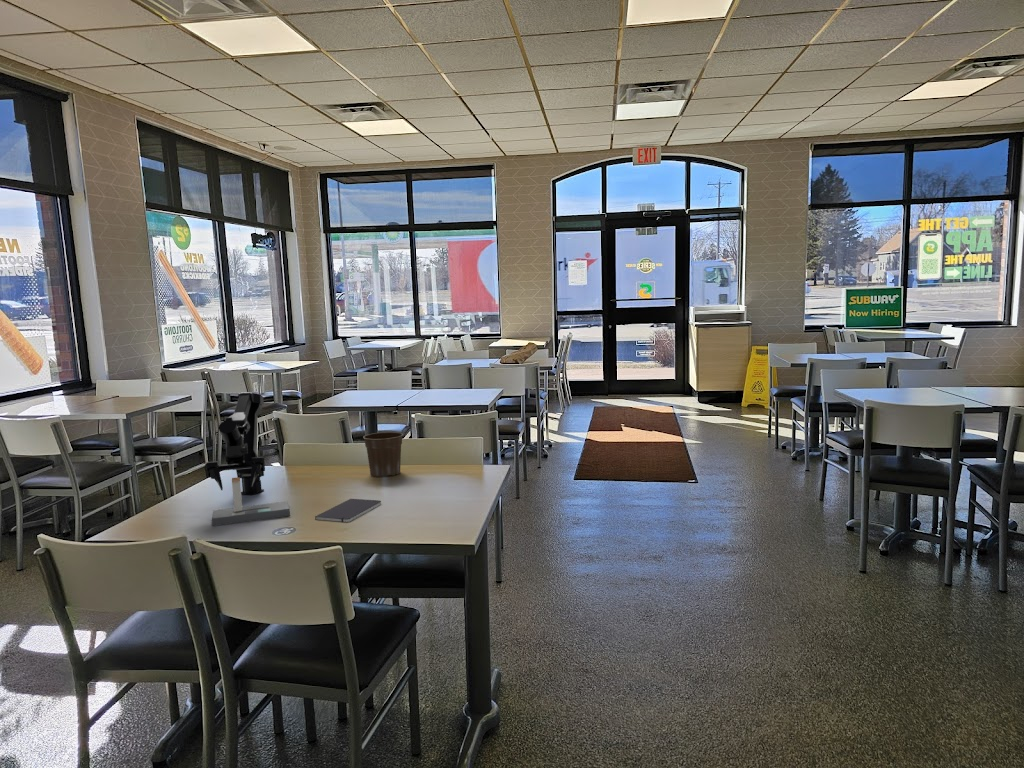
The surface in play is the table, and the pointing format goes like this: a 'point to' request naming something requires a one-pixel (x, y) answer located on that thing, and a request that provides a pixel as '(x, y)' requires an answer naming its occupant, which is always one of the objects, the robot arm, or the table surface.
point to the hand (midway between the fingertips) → (236, 488)
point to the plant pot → (384, 453)
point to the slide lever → (237, 494)
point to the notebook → (348, 510)
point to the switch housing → (250, 513)
